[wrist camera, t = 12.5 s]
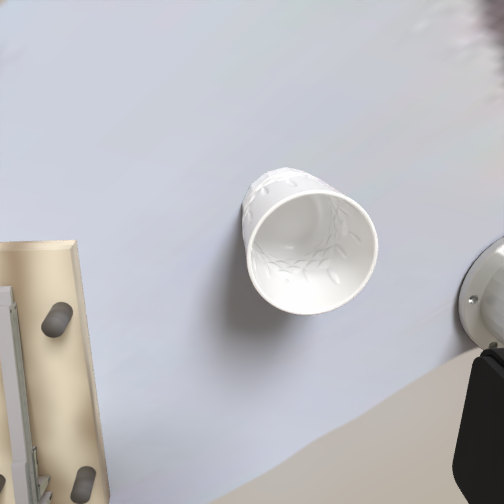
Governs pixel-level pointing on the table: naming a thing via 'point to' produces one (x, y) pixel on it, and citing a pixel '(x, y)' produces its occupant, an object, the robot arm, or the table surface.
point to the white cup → (306, 242)
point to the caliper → (18, 408)
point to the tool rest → (54, 373)
